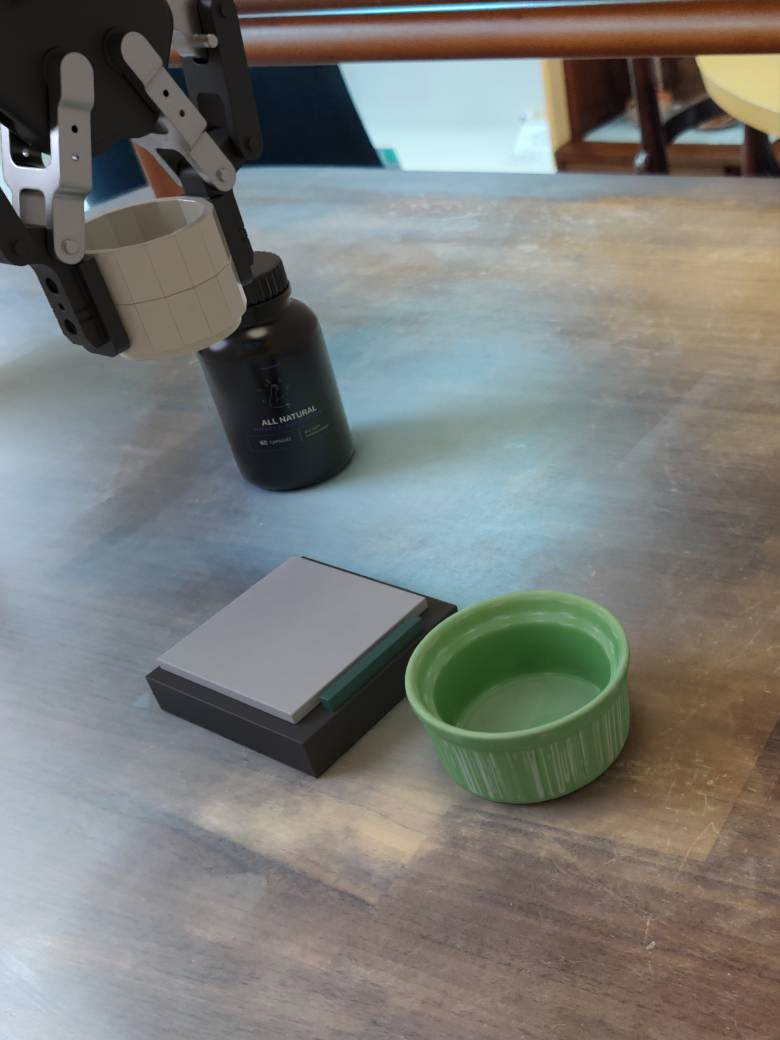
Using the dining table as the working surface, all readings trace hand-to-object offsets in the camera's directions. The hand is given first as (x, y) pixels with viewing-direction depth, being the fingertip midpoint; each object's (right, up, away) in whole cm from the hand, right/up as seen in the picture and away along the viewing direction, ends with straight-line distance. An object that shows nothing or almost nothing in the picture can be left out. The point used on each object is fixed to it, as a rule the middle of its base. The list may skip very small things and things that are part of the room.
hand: (173, 314), depth 48 cm
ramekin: (+14, -17, +2) cm, 23 cm away
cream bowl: (0, -1, 0) cm, 1 cm away
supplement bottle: (-1, -3, +23) cm, 23 cm away
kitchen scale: (+4, -15, +7) cm, 17 cm away
